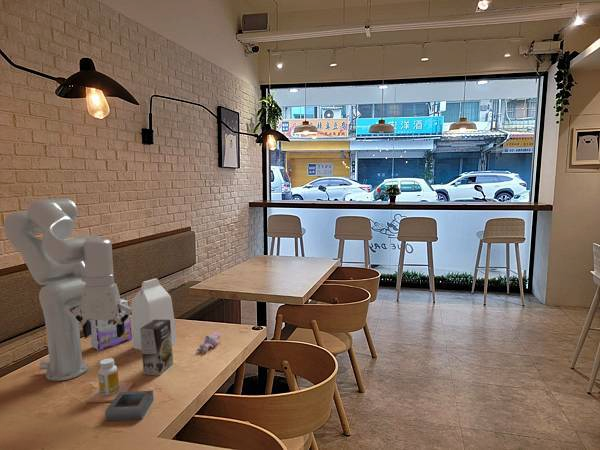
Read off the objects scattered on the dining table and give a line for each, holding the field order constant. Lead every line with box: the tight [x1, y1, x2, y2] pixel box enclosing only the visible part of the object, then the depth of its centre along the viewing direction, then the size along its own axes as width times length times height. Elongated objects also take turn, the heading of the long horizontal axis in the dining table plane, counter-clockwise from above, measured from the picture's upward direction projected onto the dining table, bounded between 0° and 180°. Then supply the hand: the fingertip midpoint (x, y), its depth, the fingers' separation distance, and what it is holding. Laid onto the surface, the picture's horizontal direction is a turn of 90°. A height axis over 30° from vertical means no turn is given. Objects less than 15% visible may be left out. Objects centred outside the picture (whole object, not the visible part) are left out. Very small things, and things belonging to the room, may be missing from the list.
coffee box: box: [140, 320, 174, 376], centre depth 140 cm, size 9×6×16 cm
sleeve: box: [104, 390, 154, 422], centre depth 116 cm, size 10×10×3 cm
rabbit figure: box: [195, 332, 223, 356], centre depth 157 cm, size 6×6×15 cm
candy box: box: [89, 298, 133, 352], centre depth 163 cm, size 14×6×16 cm, turn 141°
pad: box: [85, 381, 134, 404], centre depth 126 cm, size 10×10×1 cm
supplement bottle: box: [97, 357, 120, 395], centre depth 125 cm, size 5×5×10 cm
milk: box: [131, 277, 178, 351], centre depth 160 cm, size 12×12×26 cm
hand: (104, 335), depth 124 cm, fingers open, 9 cm apart
